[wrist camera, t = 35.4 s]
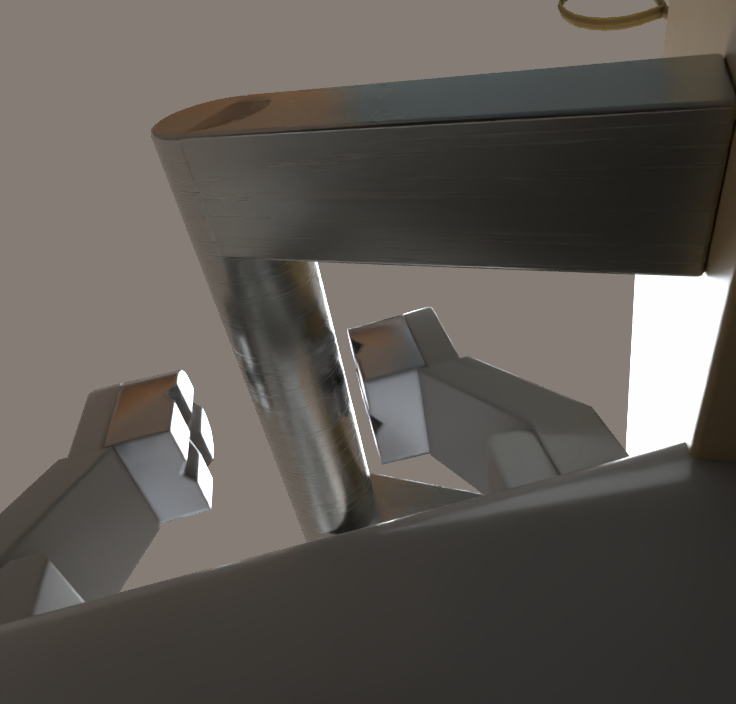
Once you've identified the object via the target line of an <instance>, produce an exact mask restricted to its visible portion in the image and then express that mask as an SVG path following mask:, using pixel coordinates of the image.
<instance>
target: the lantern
mask: <svg viewBox="0 0 736 704" xmlns="http://www.w3.org/2000/svg"><path fill="white" fill-rule="evenodd" d="M566 1H567V0H560V1H559V4H558V8H559V11H560V13H561V16H562V18H563V19H564V20H566V21H567V22H568V23H569V24H571V25H574V26H576V27H579V28H584V29H590V30H602V31H607V30H619V29H626V28H631V27H635V26H639V25H642V24H645V23H648V22H651V21H654V20H657V19H660V18H664V19H667V16H668V8H669V6H667V5H666V3H665V1H664V0H654V1H655V3H656V4H657V5H658V6H657V7H655V8H652V9H649V10H647V11H643V12H640V13H636V14H632V15H628V16H621V17H611V18H599V17H586V16H582V15H577V14H574V13H572V12H570V11H568V10H566V9H565V8H564V7H563V4H564V3H565V2H566Z"/></svg>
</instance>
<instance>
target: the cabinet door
mask: <svg viewBox="0 0 736 704" xmlns="http://www.w3.org/2000/svg"><path fill="white" fill-rule="evenodd" d="M151 137H152V140H153V142H154V145H155V148H156V150H157V153H158V155H159V158H160V160H161V163H162V166H163V168H164V171H165V174H166V176H167V179H168V181H169V184H170V187H171V189H172V192H173V194H174V197H175V200H176V202H177V205H178V208H179V210H180V213H181V215H182V218H183V221H184V223H185V226H186V228H187V231H188V234H189V236H190V239H191V242H192V244H193V247H194V249H195V252H196V255H197V257H198V260H199V262H200V265H201V267H202V270H203V273H204V275H205V278H206V281H207V283H208V286H209V289H210V291H211V294H212V296H213V299H214V302H215V304H216V307H217V309H218V312H219V314H220V317H221V320H222V322H223V325H224V328H225V330H226V333H227V336H228V338H229V341H230V343H231V346H232V349H233V351H234V354H235V356H236V359H237V362H238V364H239V367H240V369H241V372H242V375H243V377H244V380H245V383H246V385H247V387H248V390H249V393H250V395H251V398H252V401H253V403H254V406H255V409H256V411H257V414H258V416H259V419H260V422H261V424H262V427H263V429H264V432H265V435H266V437H267V440H268V443H269V445H270V448H271V450H272V453H273V456H274V458H275V461H276V463H277V466H278V469H279V471H280V474H281V476H282V479H283V482H284V484H285V487H286V490H287V492H288V495H289V497H290V500H291V502H292V505H293V508H294V510H295V513H296V516H297V518H298V521H299V524H300V526H301V529H302V531H303V534H304V537H305V539H306V542H307V543H308V542H312V541H315V540H319V539H323V538H327V537H330V536H334V535H338V534H342V533H345V532H349V531H353V530H357V529H361V528H364V527H368V526H372V525H376V524H379V523H383V522H387V521H391V520H394V519H398V518H402V517H406V516H409V515H413V514H417V513H421V512H424V511H428V510H432V509H435V508H439V507H443V506H447V505H450V504H454V503H458V502H462V501H465V500H469V499H473V498H477V497H480V496H484V494H480V493H475V492H469V491H463V490H459V489H453V488H448V487H442V486H437V485H432V484H427V483H421V482H416V481H411V480H405V479H400V478H395V477H389V476H384V475H379V474H374V473H369V471H368V467H367V463H366V459H365V455H364V450H363V446H362V442H361V438H360V434H359V430H358V426H357V422H356V418H355V414H354V410H353V406H352V402H351V398H350V394H349V389H348V385H347V381H346V377H345V373H344V369H343V365H342V361H341V357H340V353H339V349H338V345H337V341H336V336H335V333H334V328H333V325H332V320H331V316H330V312H329V308H328V304H327V300H326V296H325V292H324V288H323V284H322V279H321V276H320V271H319V267H318V263H317V262H332V263H356V264H357V263H358V264H382V265H408V266H432V267H458V268H483V269H508V270H510V269H511V270H534V271H559V272H586V273H610V274H635V290H634V309H633V310H634V311H633V328H632V346H631V366H630V384H629V385H630V386H629V403H628V422H627V440H626V452H627V453H628V454H629V456H634V455H637V454H641V453H645V452H648V451H652V450H656V449H660V448H663V447H667V446H671V445H675V444H678V443H682V442H686V443H687V447H688V453H689V454H690V456H691V457H694V458H697V459H709V460H721V461H733V462H736V0H669V8H668V16H667V24H666V32H665V40H664V48H663V56H662V58H658V59H648V60H636V61H625V62H614V63H602V64H591V65H581V66H580V65H579V66H569V67H557V68H546V69H534V70H523V71H512V72H501V73H490V74H479V75H467V76H455V77H444V78H434V79H422V80H411V81H399V82H388V83H377V84H366V85H355V86H343V87H331V88H320V89H309V90H298V91H287V92H275V93H264V94H253V95H247V96H237V97H229V98H224V99H219V100H214V101H210V102H206V103H202V104H199V105H195V106H192V107H189V108H186V109H184V110H181V111H178V112H176V113H174V114H171V115H169V116H168V117H166V118H164V119H162V120H161V121H159V122H158V123H157V124H156V125H155V126H154V127H153V128H152V130H151Z"/></svg>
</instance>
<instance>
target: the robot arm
mask: <svg viewBox="0 0 736 704" xmlns="http://www.w3.org/2000/svg"><path fill="white" fill-rule="evenodd" d="M347 332H348V336H349V341H350V346H351V349H352V353H353V357H354V360H355V364H356V371H357V375H358V379H359V383H360V388H361V392H362V396H363V400H364V404H365V407H366V411H367V415H368V418H369V420H370V423H371V428H372V432H373V436H374V440H375V443H376V446H377V449H378V453H379V456H380V460H381V463H382V464H386V463H390V462H395V461H399V460H403V459H407V458H412V457H416V456H420V455H425V454H428V453H431V455H432V456H433V457H434V458H435V459H437V460H438V461H440V462H441V463H442V464H444V465H445V466H446V467H448V468H449V469H450V470H452V471H453V472H454V473H456V474H457V475H458V476H460V477H461V478H462V479H464V480H465V481H466V482H468V483H469V484H470V485H472V486H473V487H475V488H476V489H477V490H478V491H480V492H481V493H483V494H484V496H480V497H477V498H473V499H469V500H465V501H462V502H458V503H454V504H450V505H447V506H443V507H439V508H435V509H432V510H428V511H424V512H421V513H417V514H413V515H409V516H406V517H402V518H398V519H394V520H391V521H387V522H383V523H379V524H376V525H372V526H368V527H364V528H361V529H357V530H353V531H349V532H345V533H342V534H338V535H334V536H330V537H327V538H323V539H319V540H315V541H312V542H308V543H305V544H300V545H297V546H293V547H289V548H286V549H282V550H278V551H274V552H270V553H267V554H263V555H259V556H255V557H251V558H248V559H244V560H240V561H236V562H233V563H229V564H225V565H221V566H218V567H214V568H210V569H206V570H203V571H199V572H195V573H192V574H188V575H184V576H180V577H177V578H173V579H169V580H165V581H161V582H158V583H154V584H151V585H147V586H143V587H139V588H135V589H132V590H128V591H125V592H120V590H121V588H122V587H123V585H124V583H125V582H126V581H127V579H128V578H129V576H130V574H131V573H132V571H133V570H134V568H135V566H136V565H137V563H138V562H139V560H140V559H141V557H142V556H143V554H144V553H145V551H146V549H147V548H148V546H149V545H150V543H151V541H152V540H153V538H154V537H155V535H156V534H157V532H158V531H159V529H160V527H161V525H160V524H161V523H165V522H169V521H172V520H175V519H179V518H182V517H186V516H189V515H193V514H196V513H200V512H203V511H207V510H210V509H211V500H212V480H213V479H212V477H211V474H210V472H209V470H208V468H207V467H208V465H209V464H210V463H211V462H212V460H213V452H214V446H213V440H212V433H211V429H210V426H209V423H208V419H207V417H206V415H205V412H204V410H203V408H201V407H200V406H198V405H196V404H195V403H193V390H194V388H193V386H192V384H191V382H190V380H189V379H188V376H187V374H186V373H185V372H183V371H182V370H178V371H174V372H170V373H165V374H161V375H156V376H152V377H148V378H143V379H139V380H134V381H130V382H126V383H123V384H116V385H113V386H109V387H105V388H101V389H97V390H94V391H93V392H91V393H90V394H89V395H88V398H87V401H86V404H85V407H84V410H83V413H82V416H81V419H80V422H79V425H78V428H77V431H76V434H75V437H74V440H73V443H72V446H71V449H70V452H69V455H68V458H64V459H61V460H58V461H57V462H56V463H55V464H53V465H52V466H51V467H50V468H49V469H48V470H47V471H46V472H45V473H44V474H43V475H42V476H41V477H39V478H38V479H37V481H35V482H34V483H33V484H32V485H31V486H30V487H29V488H28V489H27V490H25V492H23V493H22V494H21V495H20V496H19V497H18V498H17V499H16V500H15V501H14V502H13V503H11V505H9V506H8V507H7V508H6V509H5V510H4V511H3V512H2V513H1V514H0V704H736V462H733V461H721V460H709V459H697V458H694V457H691V456H690V454H689V453H688V447H687V443H686V442H682V443H678V444H675V445H671V446H667V447H663V448H660V449H656V450H652V451H648V452H645V453H641V454H637V455H634V456H629V454H628V453H627V452H626V451H625V449H624V448H623V447H622V446H621V444H620V443H619V442H618V440H617V439H616V438H615V436H614V435H613V434H612V433H611V431H610V430H609V429H608V427H607V426H606V425H605V423H604V422H603V421H602V420H601V418H600V417H599V416H598V414H597V413H596V412H595V411H594V409H593V408H592V407H590V406H588V405H586V404H583V403H581V402H579V401H576V400H573V399H571V398H569V397H567V396H564V395H562V394H559V393H557V392H554V391H552V390H549V389H547V388H545V387H542V386H540V385H538V384H535V383H533V382H530V381H528V380H525V379H523V378H521V377H518V376H516V375H513V374H511V373H508V372H506V371H504V370H501V369H499V368H497V367H494V366H492V365H489V364H487V363H484V362H482V361H480V360H477V359H475V358H472V357H470V356H466V357H462V358H460V356H459V354H458V353H457V351H456V349H455V347H454V345H453V344H452V342H451V340H450V338H449V336H448V335H447V333H446V331H445V329H444V327H443V325H442V324H441V322H440V320H439V318H438V317H437V315H436V313H435V311H434V309H433V308H431V307H426V308H423V309H419V310H415V311H412V312H408V313H405V314H403V315H399V316H395V317H392V318H388V319H384V320H381V321H377V322H373V323H370V324H366V325H362V326H359V327H355V328H351V329H347ZM119 592H120V593H119Z"/></svg>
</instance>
